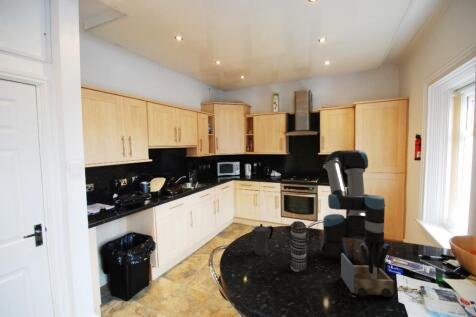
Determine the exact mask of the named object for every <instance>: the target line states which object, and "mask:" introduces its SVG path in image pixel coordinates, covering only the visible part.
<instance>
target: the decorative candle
mask: <svg viewBox="0 0 476 317" xmlns="http://www.w3.org/2000/svg"><path fill="white" fill-rule="evenodd" d="M290 228H291V229H290V232H289V242H290V243H289V244H290V248H291V249H290V255H289V256H290V269H291V270H292V271H294V272H297V273H299V272H300V271H304V270H306V269H307V268H308V266H307V265H308V264H307V261H308V260H307V259H308V257H307V251H306V250H307V246H308V244H307V243H308V237H307V236H308V233H307V231H306V230H307V229H306V228H307V225H306V224H305V222H303V221H300V220H296V221H293V222H292V223H291V224H290Z"/></svg>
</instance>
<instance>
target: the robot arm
mask: <svg viewBox="0 0 476 317" xmlns="http://www.w3.org/2000/svg"><path fill="white" fill-rule="evenodd" d="M324 169H325V170H326V171H327V176H328V182H329V187H330V188H329V189H330V193H329V195H328V196H327V197H328V198H327V204H328V208H330V210H338V211H339V210H341V211H342V210H344V211H346V210H347V211H349V212H348V214H347V216H346V217H345V216H344V214H339V213H331V214H327V215H325V216H324V217H323V223H322V226H323V236H322V238H323V239H322V242H321V245H320V249H319V253H320V254H321V255H322V256H323V257H326V258H328V259H331V260H339V261H341V253H344V255H345V256H346V257H347V258H348V250H347V247H346V245H345V244H346V243H345V239H350V240H360V241H363V242H362V243H358V246H359V247H360V249H361V250H360V251H361V255H362V259H363V263H364V264H365V266H369V272H370V273H371V276H370V278H371V279H377V274H379V268H381V267H380V266H384V263H385V264H386V258H387V255H388V252H389V250H390V249H391V246H390V245H389V244H387V243H386V242H385V232H384V231H385V214H386V212H385V208H386V204H385V202H386V201H385V200H386V199H385V198H384V197H383V196H382V195H381V196H380V195H374V194H373V195H372V194H367V193H365V183H364V173H366V169H369V158H368V155H367V153H366V151H364V150H358V149H353V150H352V149H351V150H349V149H348V150H340V149H339V150H335V151H333V152H331V153H330V154H328V156H327V157H326V158H325V161H324ZM342 169H344V173H345V174H347V190H348V191H347V190H346V186H345V181H344V177H343V173H342ZM347 192H348V194H347ZM366 248H367V249H366ZM381 248H382V250H381ZM367 251H368V253H367ZM380 251H381V253H380ZM374 264H375V265H374Z"/></svg>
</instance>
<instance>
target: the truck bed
mask: <svg viewBox="0 0 476 317" xmlns="http://www.w3.org/2000/svg"><path fill="white" fill-rule="evenodd" d="M353 266H354V293H353V294H354V295H359V297H366V298H367V296H372V295H373V296H383V297H384V298H391V297H392V296H394V280H393V279H392V278H391V276H389V275H388V274H387V273H386V271H385V272H384V271H383V270H382V269H381V268H379V274H377V279H371V278H370V276H371V273H370V272H369V266H367V265H358V264H357V265H354V264H353Z"/></svg>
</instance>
